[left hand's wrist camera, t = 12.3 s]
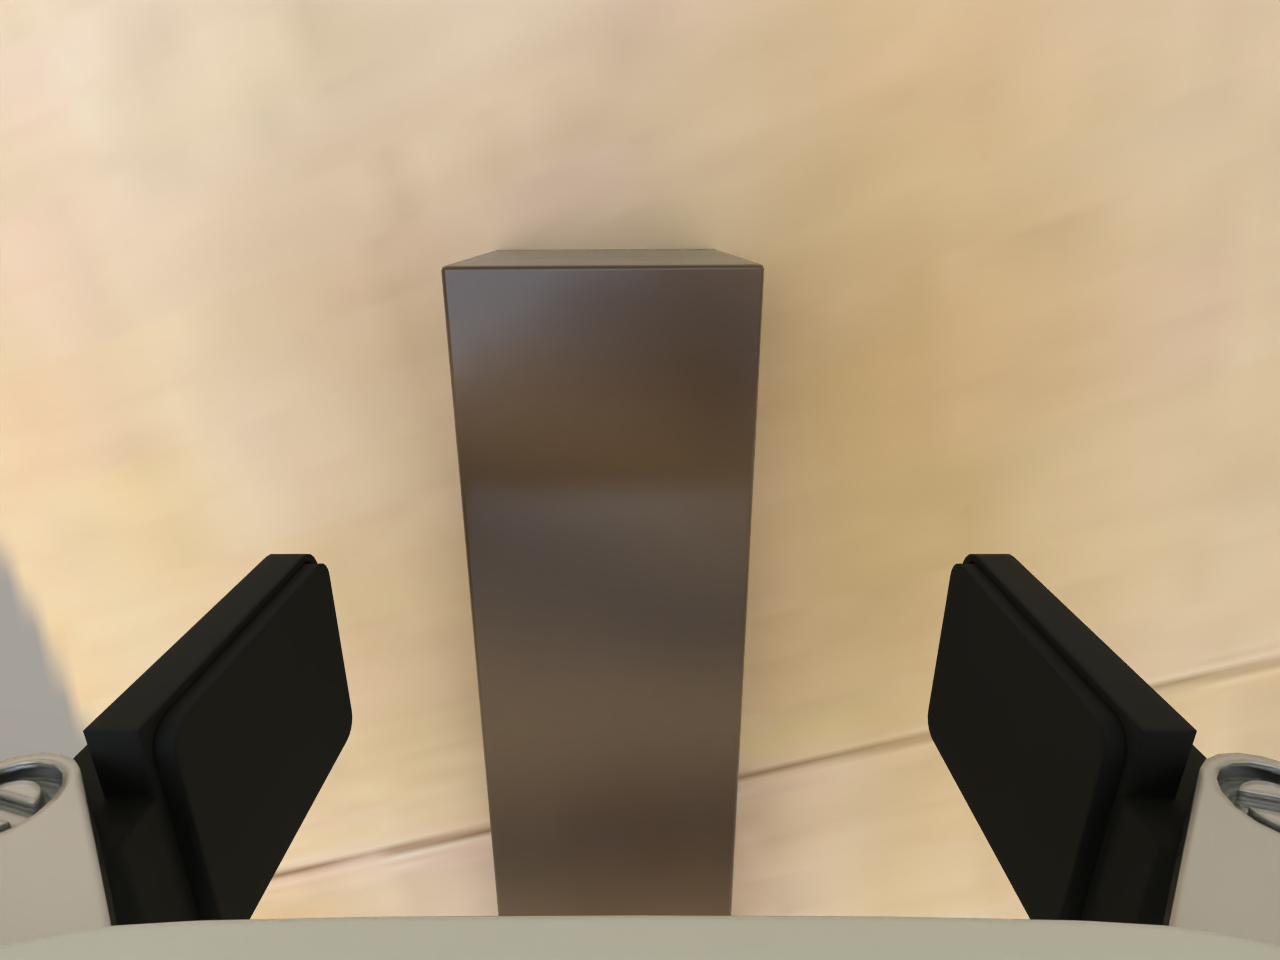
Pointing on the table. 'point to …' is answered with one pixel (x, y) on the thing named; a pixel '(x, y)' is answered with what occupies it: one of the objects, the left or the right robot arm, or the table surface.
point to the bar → (608, 565)
